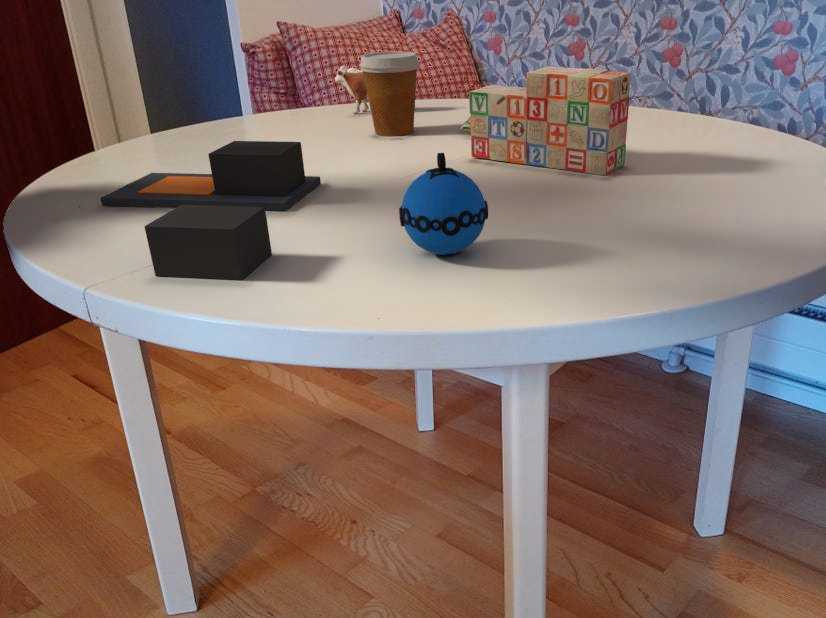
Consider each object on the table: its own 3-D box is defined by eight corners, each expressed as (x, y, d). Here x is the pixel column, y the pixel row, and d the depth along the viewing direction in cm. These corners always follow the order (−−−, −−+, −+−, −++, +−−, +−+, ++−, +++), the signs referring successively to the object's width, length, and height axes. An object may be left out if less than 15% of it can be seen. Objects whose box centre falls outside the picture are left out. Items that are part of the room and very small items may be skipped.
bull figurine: (339, 110, 154) (335, 64, 150) (410, 109, 152) (407, 63, 149) (333, 114, 150) (328, 67, 146) (406, 114, 149) (402, 66, 145)
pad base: (101, 205, 101) (89, 156, 98) (153, 179, 111) (143, 135, 108) (285, 211, 97) (278, 160, 94) (321, 184, 107) (315, 137, 104)
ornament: (497, 263, 79) (495, 159, 75) (409, 271, 78) (401, 167, 73) (478, 235, 87) (475, 140, 82) (398, 243, 85) (390, 146, 81)
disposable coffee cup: (354, 136, 133) (347, 58, 127) (382, 124, 140) (377, 50, 135) (407, 140, 129) (401, 59, 124) (433, 127, 137) (429, 51, 132)
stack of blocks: (469, 158, 117) (467, 68, 112) (492, 149, 122) (491, 62, 116) (607, 175, 107) (611, 77, 101) (626, 165, 112) (631, 70, 106)
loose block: (155, 276, 79) (144, 226, 76) (190, 251, 85) (181, 204, 82) (242, 280, 77) (233, 229, 75) (272, 254, 83) (265, 206, 81)
